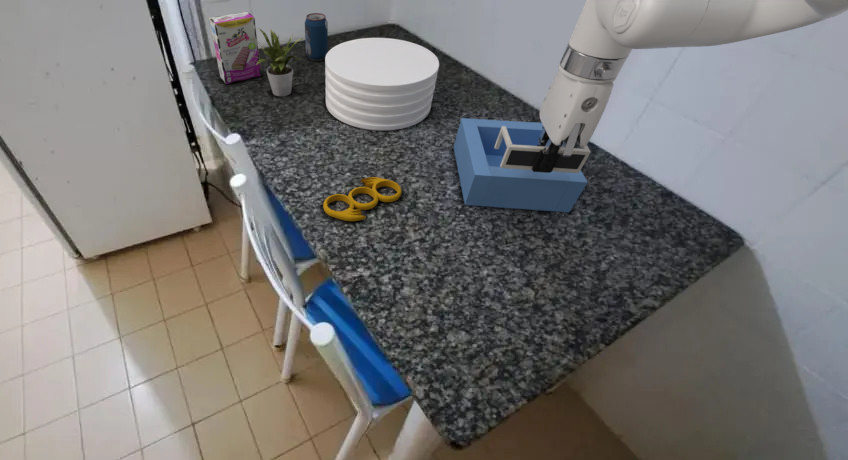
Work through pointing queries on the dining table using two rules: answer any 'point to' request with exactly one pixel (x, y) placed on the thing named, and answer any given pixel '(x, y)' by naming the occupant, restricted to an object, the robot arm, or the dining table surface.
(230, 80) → the candy bar box
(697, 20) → the robot arm
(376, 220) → the dining table surface
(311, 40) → the soda can
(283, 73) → the house plant
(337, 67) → the plate stack
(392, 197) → the yellow winged triple ring
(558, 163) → the white sunglasses
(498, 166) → the bin
